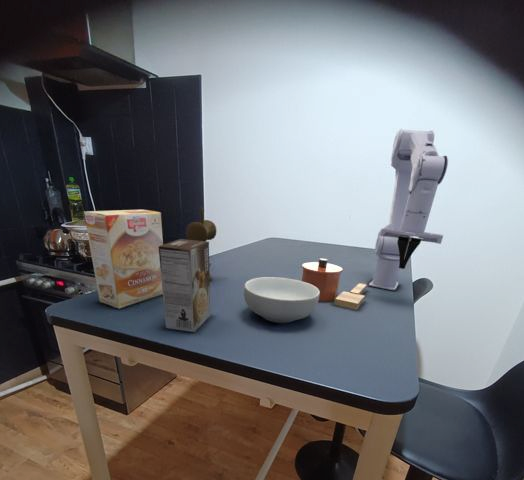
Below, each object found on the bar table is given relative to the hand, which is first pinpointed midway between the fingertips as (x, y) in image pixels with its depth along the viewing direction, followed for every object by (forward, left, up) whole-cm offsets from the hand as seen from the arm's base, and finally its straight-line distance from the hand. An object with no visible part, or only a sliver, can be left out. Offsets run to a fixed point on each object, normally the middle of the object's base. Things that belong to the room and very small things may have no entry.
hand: (401, 267), depth 84 cm
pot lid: (+9, -19, -2) cm, 21 cm away
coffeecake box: (+41, -55, -10) cm, 69 cm away
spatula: (+5, -10, -9) cm, 14 cm away
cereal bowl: (+30, -21, -10) cm, 38 cm away
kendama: (+18, -52, -10) cm, 56 cm away
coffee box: (+45, -35, -10) cm, 58 cm away
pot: (+9, -19, -9) cm, 23 cm away
